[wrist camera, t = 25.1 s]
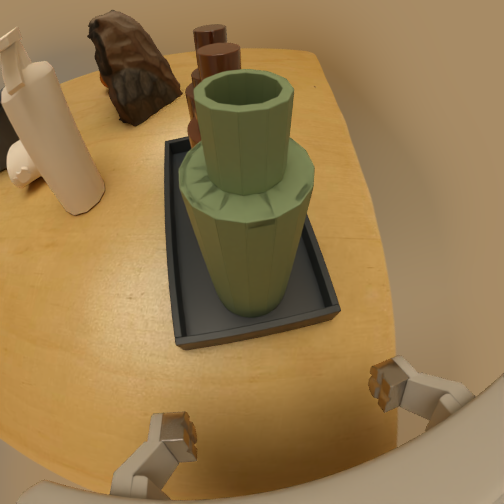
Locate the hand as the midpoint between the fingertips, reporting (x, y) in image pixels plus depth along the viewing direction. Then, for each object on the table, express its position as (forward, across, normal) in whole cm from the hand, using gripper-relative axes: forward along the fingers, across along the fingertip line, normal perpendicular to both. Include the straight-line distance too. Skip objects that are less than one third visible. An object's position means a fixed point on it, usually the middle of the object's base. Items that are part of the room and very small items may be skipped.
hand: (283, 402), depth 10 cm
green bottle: (+14, 0, +1) cm, 14 cm away
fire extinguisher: (+28, +18, -11) cm, 35 cm away
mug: (+35, +28, -18) cm, 48 cm away
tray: (+20, 0, -4) cm, 21 cm away
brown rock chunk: (+41, +10, -25) cm, 49 cm away
